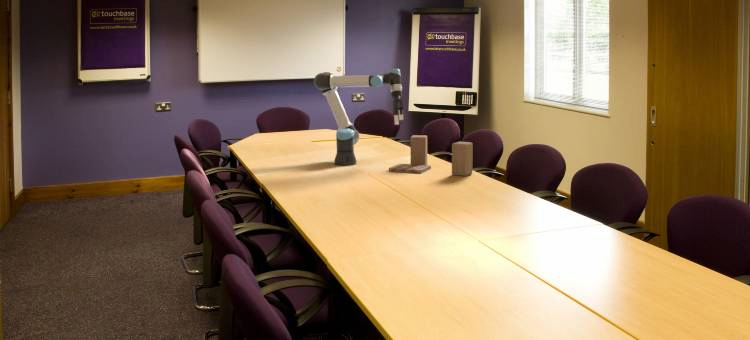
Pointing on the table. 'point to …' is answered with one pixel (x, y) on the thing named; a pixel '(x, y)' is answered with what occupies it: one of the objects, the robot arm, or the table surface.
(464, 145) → the block
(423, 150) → the wooden block
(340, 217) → the table surface
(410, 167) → the marked board
